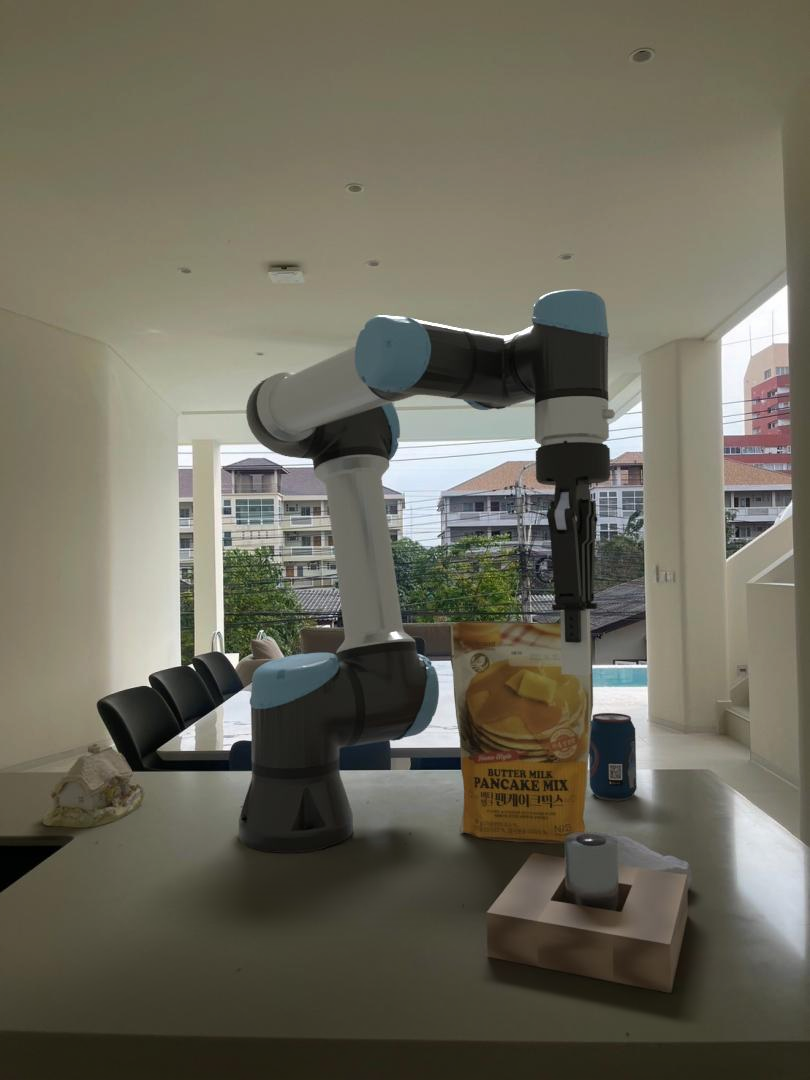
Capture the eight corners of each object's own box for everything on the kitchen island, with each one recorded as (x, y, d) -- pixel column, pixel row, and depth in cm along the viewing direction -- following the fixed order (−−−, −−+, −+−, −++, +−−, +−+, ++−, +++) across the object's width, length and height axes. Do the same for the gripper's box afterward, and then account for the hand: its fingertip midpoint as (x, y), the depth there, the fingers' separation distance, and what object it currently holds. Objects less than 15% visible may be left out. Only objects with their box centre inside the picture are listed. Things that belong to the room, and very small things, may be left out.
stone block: (625, 872, 97) (561, 871, 93) (631, 832, 98) (568, 829, 93) (703, 913, 87) (636, 915, 82) (709, 868, 87) (643, 867, 83)
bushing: (560, 941, 76) (559, 844, 76) (572, 919, 80) (570, 827, 81) (614, 951, 74) (612, 851, 74) (623, 928, 78) (621, 834, 79)
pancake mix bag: (454, 821, 111) (452, 619, 112) (596, 829, 107) (592, 619, 108) (447, 838, 104) (444, 623, 105) (597, 847, 100) (593, 623, 101)
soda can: (588, 788, 126) (586, 711, 127) (633, 789, 125) (631, 712, 126) (592, 801, 119) (590, 720, 120) (640, 802, 119) (638, 721, 119)
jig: (487, 956, 73) (486, 912, 73) (533, 890, 88) (532, 853, 88) (671, 993, 67) (670, 944, 67) (687, 914, 81) (687, 874, 81)
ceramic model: (92, 833, 109) (92, 758, 109) (27, 825, 112) (27, 753, 113) (157, 803, 122) (156, 736, 122) (96, 796, 126) (96, 732, 126)
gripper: (596, 433, 75) (601, 684, 75) (619, 450, 87) (623, 667, 87) (519, 439, 78) (523, 680, 78) (551, 454, 90) (555, 664, 90)
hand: (576, 673), depth 82 cm, fingers closed
